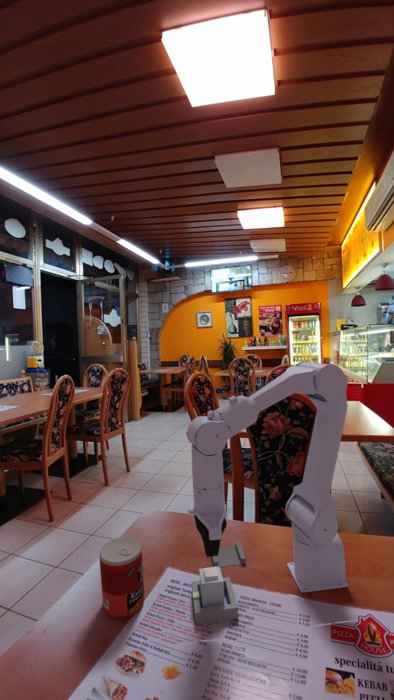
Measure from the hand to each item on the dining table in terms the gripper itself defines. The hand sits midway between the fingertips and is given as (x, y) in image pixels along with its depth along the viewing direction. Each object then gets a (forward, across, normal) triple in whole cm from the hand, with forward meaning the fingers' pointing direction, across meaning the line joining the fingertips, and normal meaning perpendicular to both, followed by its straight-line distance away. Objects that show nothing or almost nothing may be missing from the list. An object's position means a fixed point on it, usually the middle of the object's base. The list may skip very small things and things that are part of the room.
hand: (211, 554), depth 63 cm
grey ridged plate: (+10, -13, +5) cm, 17 cm away
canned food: (+10, -3, -17) cm, 20 cm away
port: (+10, 0, 0) cm, 10 cm away
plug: (+10, 0, 0) cm, 10 cm away
